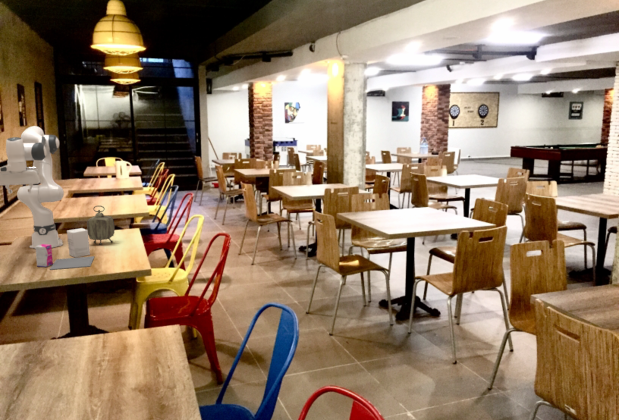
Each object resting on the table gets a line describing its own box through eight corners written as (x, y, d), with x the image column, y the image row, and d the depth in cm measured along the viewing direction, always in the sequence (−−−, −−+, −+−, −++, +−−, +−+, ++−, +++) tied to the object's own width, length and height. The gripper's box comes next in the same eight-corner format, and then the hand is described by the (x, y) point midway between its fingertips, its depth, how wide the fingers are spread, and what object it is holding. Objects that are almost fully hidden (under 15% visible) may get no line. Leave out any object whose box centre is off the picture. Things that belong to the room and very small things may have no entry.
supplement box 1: (46, 267, 278) (44, 246, 276) (36, 266, 280) (34, 246, 277) (53, 264, 284) (51, 244, 282) (44, 263, 285) (42, 243, 283)
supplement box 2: (84, 252, 309) (82, 227, 306) (90, 254, 303) (88, 230, 300) (68, 255, 303) (66, 230, 300) (74, 257, 297) (72, 232, 294)
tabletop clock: (115, 242, 332) (112, 204, 327) (110, 245, 323) (107, 206, 318) (93, 242, 332) (89, 204, 327) (87, 246, 323) (83, 207, 318)
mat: (56, 260, 292) (56, 259, 292) (94, 257, 298) (94, 256, 298) (49, 270, 273) (49, 269, 273) (90, 266, 279) (90, 265, 279)
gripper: (39, 166, 285) (42, 191, 288) (-2, 167, 280) (1, 193, 282) (37, 167, 279) (39, 192, 282) (-6, 168, 274) (-3, 194, 276)
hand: (20, 192), depth 282 cm, fingers open, 8 cm apart
